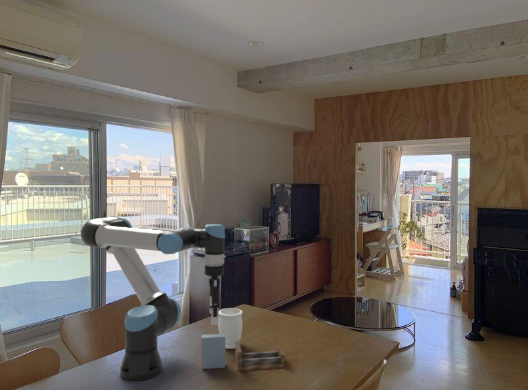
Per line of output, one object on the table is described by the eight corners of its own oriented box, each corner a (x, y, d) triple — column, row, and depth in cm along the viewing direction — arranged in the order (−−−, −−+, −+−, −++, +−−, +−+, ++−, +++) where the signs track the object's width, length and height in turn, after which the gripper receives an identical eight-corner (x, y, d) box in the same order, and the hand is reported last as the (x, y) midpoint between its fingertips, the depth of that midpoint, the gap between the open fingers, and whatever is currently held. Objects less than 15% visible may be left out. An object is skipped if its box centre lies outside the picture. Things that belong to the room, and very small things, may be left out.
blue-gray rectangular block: (201, 369, 151) (201, 338, 150) (201, 365, 154) (201, 335, 153) (225, 367, 152) (225, 336, 152) (224, 363, 155) (224, 333, 155)
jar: (213, 347, 171) (213, 312, 170) (226, 338, 180) (226, 306, 180) (234, 352, 166) (234, 316, 165) (246, 343, 175) (246, 310, 175)
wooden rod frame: (237, 370, 149) (237, 352, 149) (235, 359, 159) (235, 341, 159) (284, 367, 152) (284, 349, 152) (279, 356, 162) (279, 339, 162)
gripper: (227, 271, 141) (226, 329, 141) (221, 257, 165) (221, 308, 166) (205, 271, 139) (205, 331, 140) (203, 258, 164) (203, 308, 164)
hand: (213, 318), depth 153 cm, fingers open, 13 cm apart
